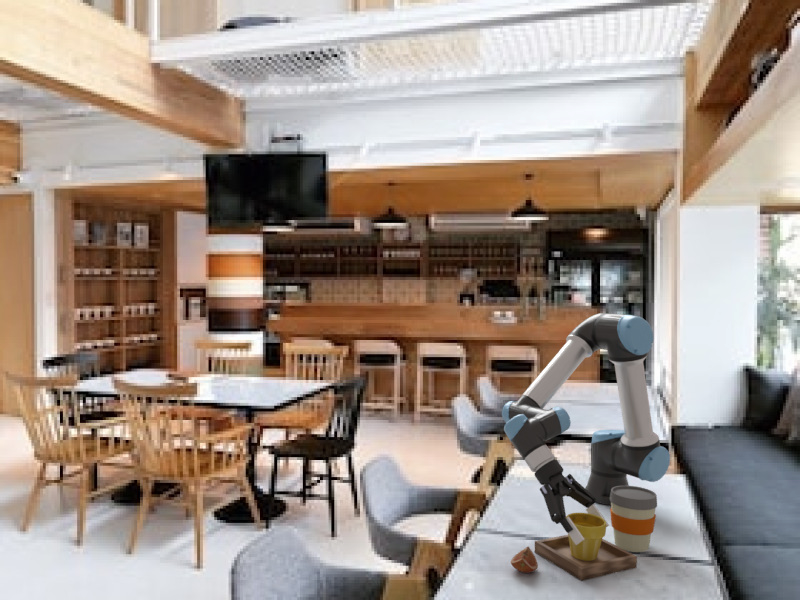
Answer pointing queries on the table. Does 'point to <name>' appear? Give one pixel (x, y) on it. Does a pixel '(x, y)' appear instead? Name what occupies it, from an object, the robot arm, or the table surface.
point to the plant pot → (587, 535)
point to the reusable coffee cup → (632, 517)
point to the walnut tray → (604, 564)
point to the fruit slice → (525, 561)
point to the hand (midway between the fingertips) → (593, 535)
